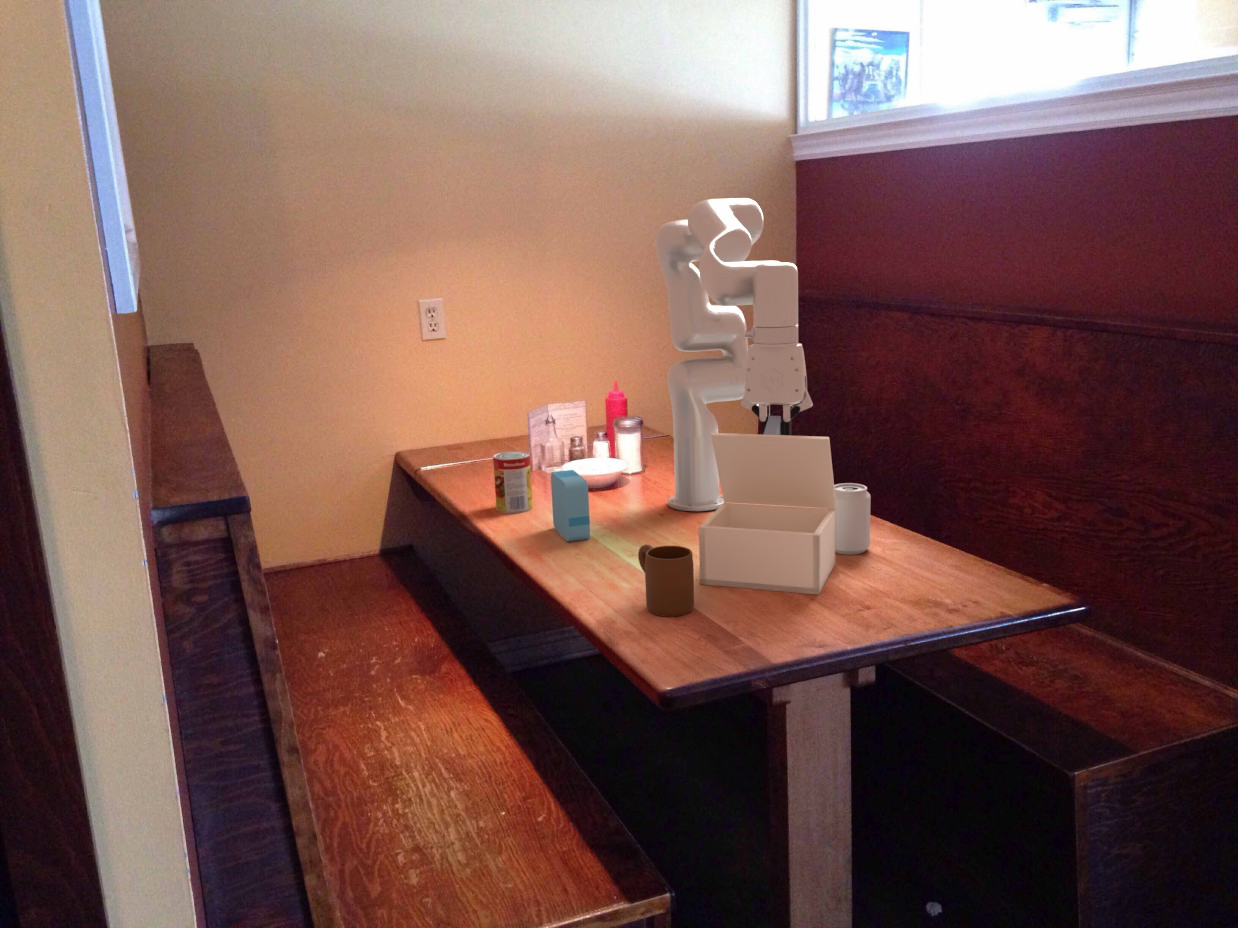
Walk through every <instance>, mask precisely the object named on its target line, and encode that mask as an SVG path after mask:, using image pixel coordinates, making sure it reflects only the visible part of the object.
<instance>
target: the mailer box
mask: <svg viewBox="0 0 1238 928" xmlns="http://www.w3.org/2000/svg"><path fill="white" fill-rule="evenodd" d="M835 526H836V509H828V508H811V507H794V506H777V505H761V504H744V503H723V504H722V505H721V506H720V507H719V508H718V509H715V511H714V512H712V513H711V514H710V515H709V516H708V518H707V519H706V520H705V521H703V522H702V523H701V524H700V525H699V526H698V550H699V551H698V553H699V555H698V556H699V557H698V559H699V585H705V586H717V587H727V588H738V589H739V588H740V589H749V590H750V589H751V590H763V591H771V592H772V591H773V592H774V591H775V592H784V593H796V594H807V595H818V596H819V595H820V593H821V591H822V589H823V587H824V586H825V584H826V582H827V581H828V578H829V577H830V574H831V573H832V572H833V570H834V568H835V565H836V552H835Z"/></svg>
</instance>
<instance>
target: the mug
mask: <svg viewBox="0 0 1238 928" xmlns="http://www.w3.org/2000/svg"><path fill="white" fill-rule="evenodd" d="M637 555H638V563H639V565H640V568H641V570H642V572H643V573H644V577H645V581H644V582H645V603H646V608H647V610H648V611H649V612H650V613H651V614H653V615H655V616H659V617H660V616H661V617H678V616H683V615H687V614H688V613H690V612H692V610H693V609H694V605H695V573H694V572H695V570H694V558H693V552H692V550H691V549H690V548H688V547H684V546H680V545H679V546H678V545H660V546H652V544H644V545H643V544H642V545H641V546H640V548H639V550H638V554H637Z"/></svg>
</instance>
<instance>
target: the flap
mask: <svg viewBox="0 0 1238 928" xmlns="http://www.w3.org/2000/svg"><path fill="white" fill-rule="evenodd" d="M781 422H782V416H781V415H770V416H769V418H768V421H767V424H766V427H765V431H764V434H763V435H762V433H760V434H756V433H755V434H754V433H730V432H729V433H728V432H727V433H726V432H718V433H711V438H712V443H713V448H714V454H715V459H716V464H717V469H718V474H719V485H720V488H721V493H722V494H721V495H723V499H724V502H727V503H737V504H754V505H771V506H788V507H804V508H821V509H836V499H835V489H834V485H835V482H834V480H835V479H834V471H833V463H832V461H833V460H832V451H831V443H830V441H831V440H830V437H829V436H816V435H812V436H809V435H791V436H790V435H780V424H781Z"/></svg>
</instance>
